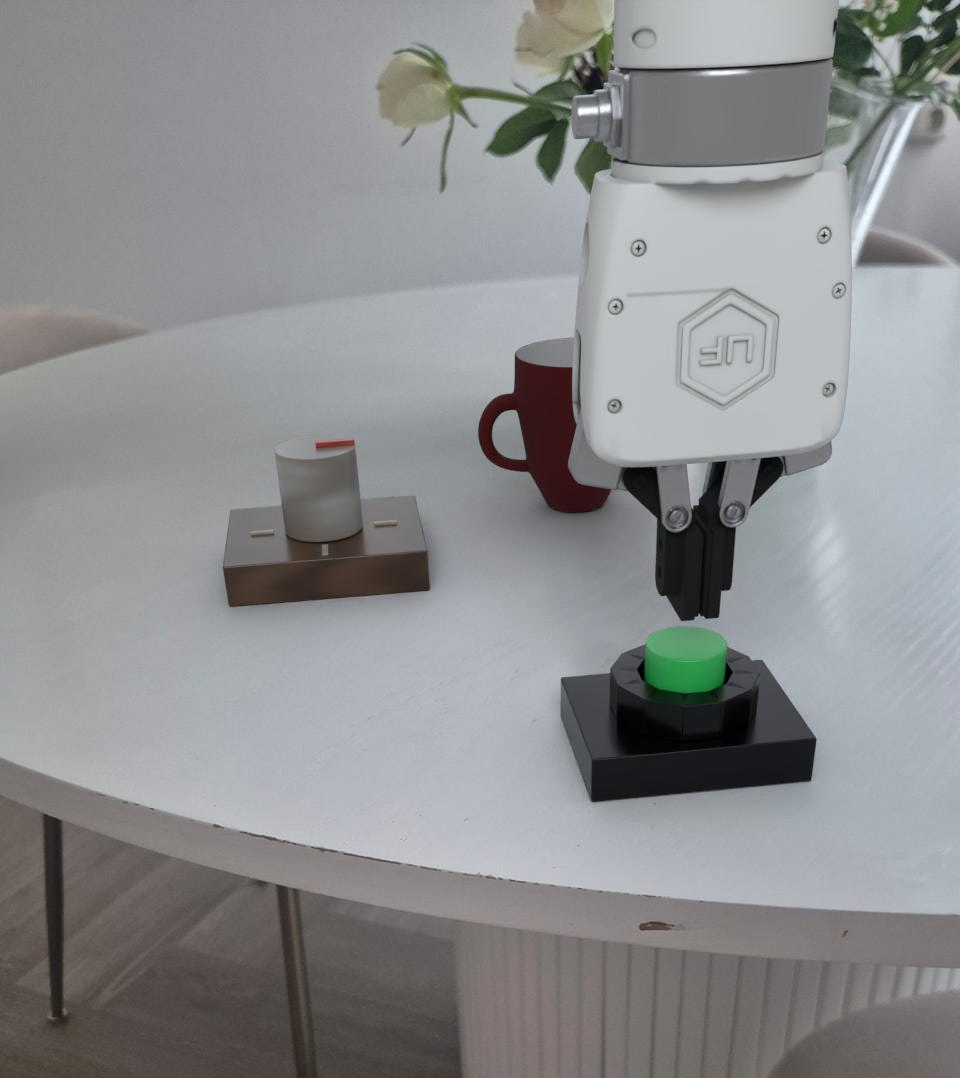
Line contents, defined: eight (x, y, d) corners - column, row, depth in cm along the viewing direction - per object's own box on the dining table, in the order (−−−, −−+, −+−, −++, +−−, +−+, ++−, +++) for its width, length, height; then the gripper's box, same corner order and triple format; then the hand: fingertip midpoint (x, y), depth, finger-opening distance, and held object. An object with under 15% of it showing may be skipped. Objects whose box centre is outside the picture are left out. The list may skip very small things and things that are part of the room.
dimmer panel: (228, 607, 75) (221, 564, 73) (235, 546, 83) (229, 506, 81) (430, 590, 76) (427, 547, 74) (417, 531, 84) (414, 492, 82)
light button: (654, 700, 55) (655, 664, 54) (636, 664, 58) (637, 629, 57) (734, 692, 56) (737, 656, 55) (712, 657, 59) (714, 622, 58)
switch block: (591, 802, 55) (592, 723, 53) (560, 716, 62) (560, 642, 60) (811, 781, 56) (822, 701, 54) (758, 698, 63) (765, 624, 60)
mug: (493, 532, 83) (487, 375, 77) (473, 493, 90) (467, 345, 84) (648, 517, 84) (654, 361, 79) (618, 479, 91) (621, 333, 85)
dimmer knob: (284, 545, 76) (273, 456, 73) (285, 517, 80) (274, 432, 76) (364, 538, 76) (356, 450, 73) (361, 511, 80) (353, 427, 77)
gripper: (525, 148, 41) (535, 660, 51) (967, 121, 42) (890, 628, 52) (495, 128, 47) (510, 589, 58) (882, 104, 48) (828, 561, 59)
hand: (691, 606), depth 55 cm, fingers closed
